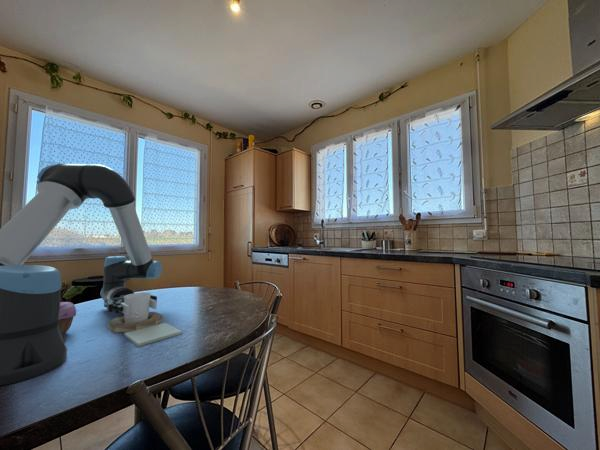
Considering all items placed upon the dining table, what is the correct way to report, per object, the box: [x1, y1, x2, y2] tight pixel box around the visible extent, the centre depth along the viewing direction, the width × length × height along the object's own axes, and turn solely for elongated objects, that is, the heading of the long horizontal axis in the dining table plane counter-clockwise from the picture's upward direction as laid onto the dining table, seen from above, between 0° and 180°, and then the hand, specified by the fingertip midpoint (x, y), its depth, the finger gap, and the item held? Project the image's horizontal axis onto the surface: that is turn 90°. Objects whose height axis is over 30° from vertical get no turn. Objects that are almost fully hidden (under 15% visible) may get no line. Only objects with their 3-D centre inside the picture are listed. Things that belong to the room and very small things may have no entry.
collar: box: [107, 311, 163, 333], centre depth 87 cm, size 15×15×2 cm
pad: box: [123, 322, 182, 348], centre depth 77 cm, size 12×12×1 cm
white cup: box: [123, 292, 151, 323], centre depth 87 cm, size 8×8×10 cm
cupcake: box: [59, 301, 77, 335], centre depth 77 cm, size 9×9×10 cm
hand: (142, 307), depth 84 cm, fingers closed on white cup, 8 cm apart
